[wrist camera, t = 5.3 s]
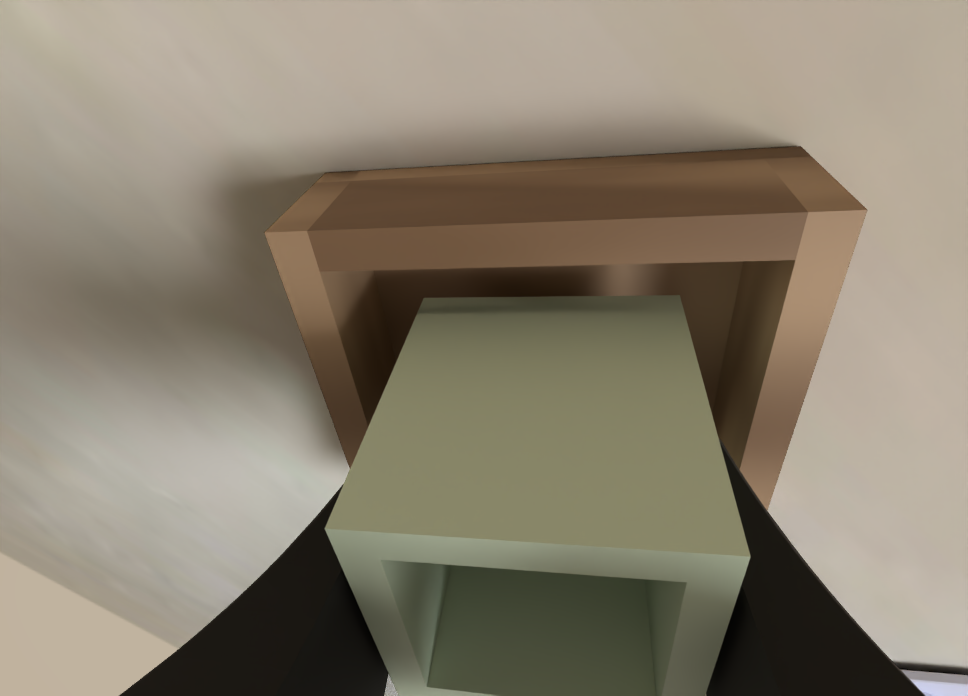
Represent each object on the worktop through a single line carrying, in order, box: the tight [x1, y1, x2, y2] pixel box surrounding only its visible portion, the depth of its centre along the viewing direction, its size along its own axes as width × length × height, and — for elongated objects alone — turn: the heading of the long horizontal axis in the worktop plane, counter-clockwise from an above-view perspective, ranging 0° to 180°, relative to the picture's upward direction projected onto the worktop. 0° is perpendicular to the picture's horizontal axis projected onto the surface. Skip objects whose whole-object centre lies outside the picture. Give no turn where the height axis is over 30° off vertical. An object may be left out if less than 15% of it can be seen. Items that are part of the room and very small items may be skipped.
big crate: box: [264, 146, 867, 510], centre depth 13 cm, size 10×10×3 cm
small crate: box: [325, 295, 751, 696], centre depth 10 cm, size 5×5×6 cm
